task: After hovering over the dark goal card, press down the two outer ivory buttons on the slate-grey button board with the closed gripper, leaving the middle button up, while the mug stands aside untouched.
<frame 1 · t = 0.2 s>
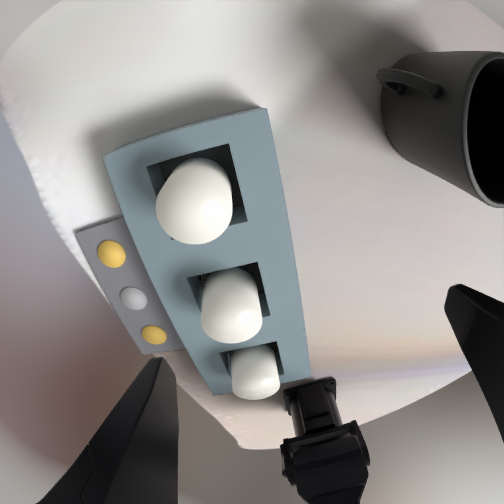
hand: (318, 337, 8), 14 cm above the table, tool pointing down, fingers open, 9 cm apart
mug: (414, 104, 18), on the table
button 1: (196, 198, 16), point 4 cm above the table, slide at 0.0 cm
button 2: (254, 371, 24), point 4 cm above the table, slide at 0.0 cm
button mid: (230, 305, 20), point 4 cm above the table, slide at 0.0 cm
goal card: (135, 295, 24), on the table
button board: (229, 274, 24), on the table
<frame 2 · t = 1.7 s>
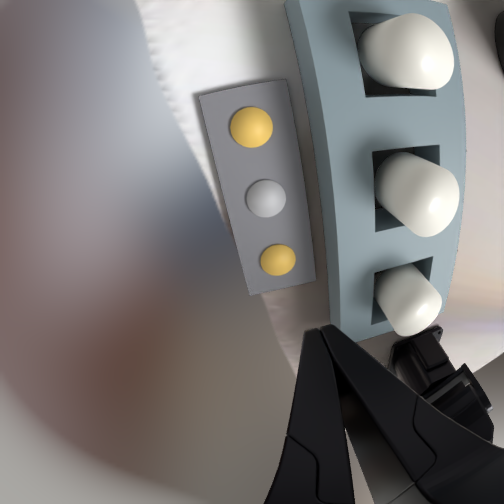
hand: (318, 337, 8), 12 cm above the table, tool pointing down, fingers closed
button 1: (405, 52, 11), point 4 cm above the table, slide at 0.0 cm
button 2: (407, 298, 19), point 4 cm above the table, slide at 0.0 cm
button mid: (416, 192, 15), point 4 cm above the table, slide at 0.0 cm
goal card: (265, 196, 18), on the table
button board: (386, 174, 18), on the table
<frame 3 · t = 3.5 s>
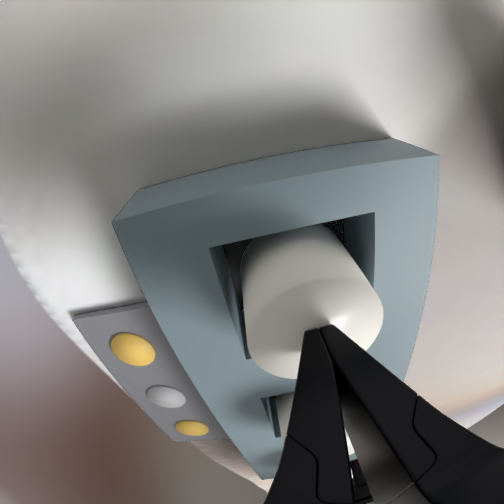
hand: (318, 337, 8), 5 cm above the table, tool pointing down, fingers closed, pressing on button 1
button 1: (304, 297, 9), point 3 cm above the table, slide at 0.8 cm, touching gripper
button 2: (321, 464, 17), point 4 cm above the table, slide at 0.0 cm
button mid: (319, 423, 13), point 4 cm above the table, slide at 0.0 cm
goal card: (167, 391, 16), on the table
button board: (304, 368, 16), on the table
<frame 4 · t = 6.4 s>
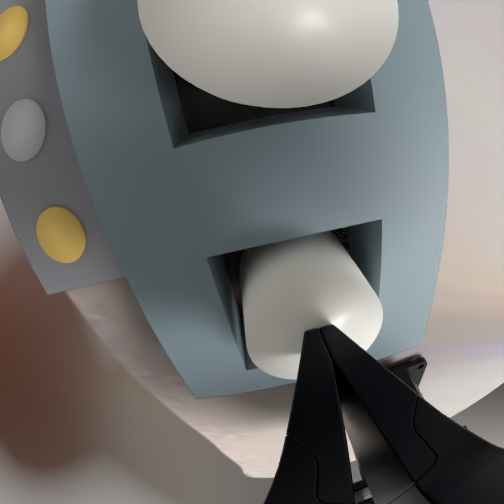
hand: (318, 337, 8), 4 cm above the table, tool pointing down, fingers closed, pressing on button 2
button 2: (304, 298, 9), point 3 cm above the table, slide at 1.3 cm, touching gripper
button mid: (261, 16, 4), point 4 cm above the table, slide at 0.0 cm
goal card: (29, 128, 8), on the table
button board: (248, 47, 8), on the table
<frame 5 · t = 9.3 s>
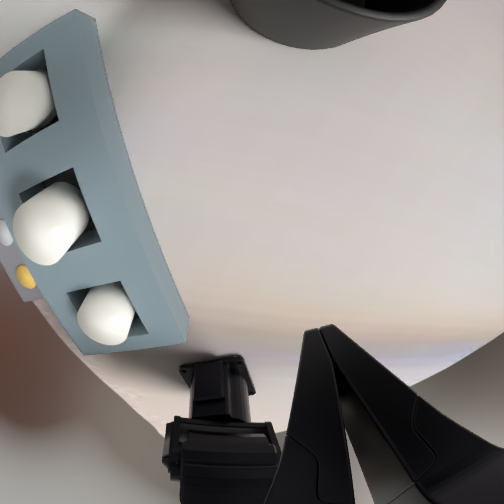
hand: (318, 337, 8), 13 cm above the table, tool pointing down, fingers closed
button 1: (25, 101, 12), point 3 cm above the table, slide at 1.3 cm
button 2: (108, 309, 20), point 2 cm above the table, slide at 1.3 cm
button mid: (51, 221, 15), point 4 cm above the table, slide at 0.0 cm
goal card: (6, 230, 18), on the table
button board: (76, 200, 18), on the table
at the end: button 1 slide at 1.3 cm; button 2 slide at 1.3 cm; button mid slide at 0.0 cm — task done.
